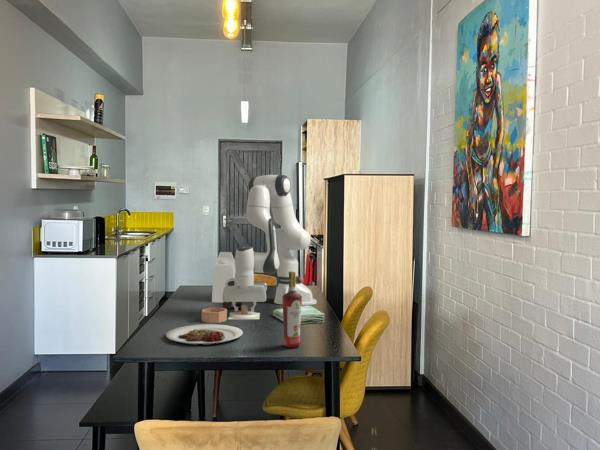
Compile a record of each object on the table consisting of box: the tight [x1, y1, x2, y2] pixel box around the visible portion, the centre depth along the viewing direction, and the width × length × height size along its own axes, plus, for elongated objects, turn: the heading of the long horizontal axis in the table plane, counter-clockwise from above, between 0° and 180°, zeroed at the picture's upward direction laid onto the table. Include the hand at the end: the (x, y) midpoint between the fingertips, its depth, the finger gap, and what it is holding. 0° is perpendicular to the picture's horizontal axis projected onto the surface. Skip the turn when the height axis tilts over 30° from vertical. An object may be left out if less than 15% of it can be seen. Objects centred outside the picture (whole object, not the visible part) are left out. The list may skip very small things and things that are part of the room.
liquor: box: [282, 271, 303, 349], centre depth 210 cm, size 7×7×28 cm
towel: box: [272, 305, 326, 325], centre depth 257 cm, size 18×21×5 cm
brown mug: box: [221, 301, 243, 309], centre depth 277 cm, size 12×10×8 cm
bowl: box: [201, 307, 228, 324], centre depth 252 cm, size 11×11×5 cm
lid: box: [229, 304, 259, 320], centre depth 260 cm, size 13×13×5 cm
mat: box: [227, 312, 261, 320], centre depth 261 cm, size 14×14×1 cm
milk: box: [211, 251, 236, 304], centre depth 301 cm, size 12×12×26 cm
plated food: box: [165, 323, 244, 345], centre depth 224 cm, size 30×30×3 cm
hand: (244, 311), depth 260 cm, fingers open, 6 cm apart
